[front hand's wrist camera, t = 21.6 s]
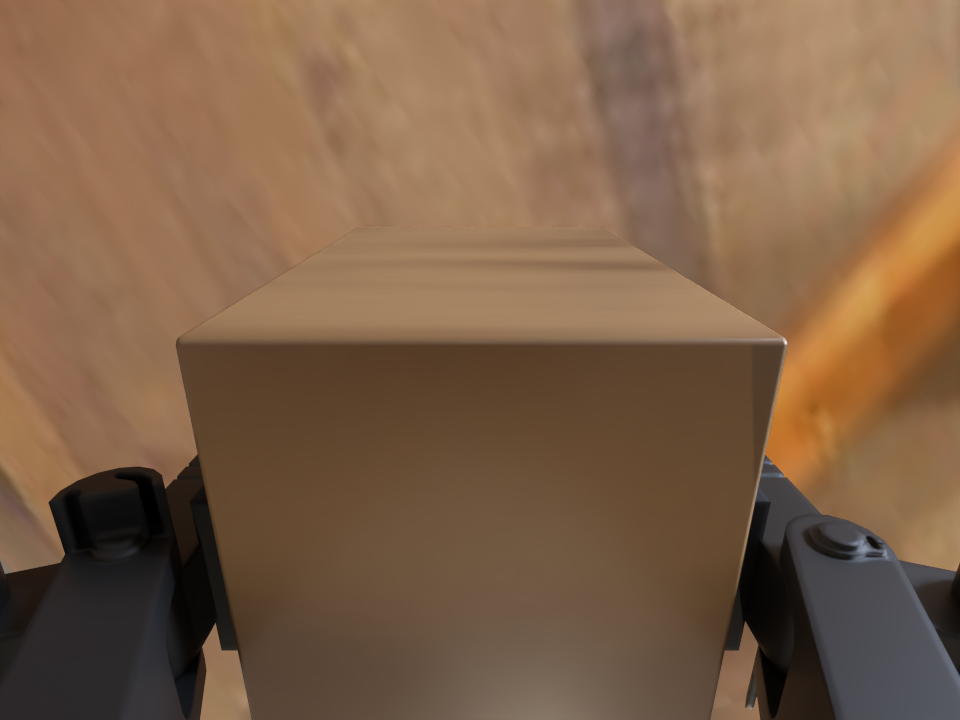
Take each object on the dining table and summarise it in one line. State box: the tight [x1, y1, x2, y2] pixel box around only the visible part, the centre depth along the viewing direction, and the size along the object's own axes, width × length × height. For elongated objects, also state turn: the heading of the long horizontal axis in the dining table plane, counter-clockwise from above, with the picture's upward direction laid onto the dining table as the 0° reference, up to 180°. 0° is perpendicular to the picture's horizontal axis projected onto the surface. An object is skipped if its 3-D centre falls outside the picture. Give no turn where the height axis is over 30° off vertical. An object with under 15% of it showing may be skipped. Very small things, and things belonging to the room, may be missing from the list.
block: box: [176, 227, 787, 720], centre depth 12 cm, size 8×6×9 cm
